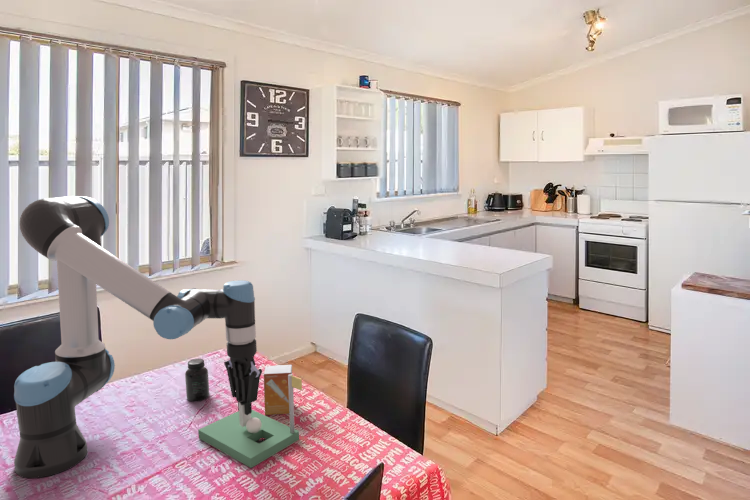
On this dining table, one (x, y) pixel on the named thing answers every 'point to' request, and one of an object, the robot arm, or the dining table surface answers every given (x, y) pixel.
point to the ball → (253, 425)
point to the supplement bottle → (197, 380)
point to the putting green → (253, 434)
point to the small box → (276, 389)
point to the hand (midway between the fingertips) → (245, 423)
